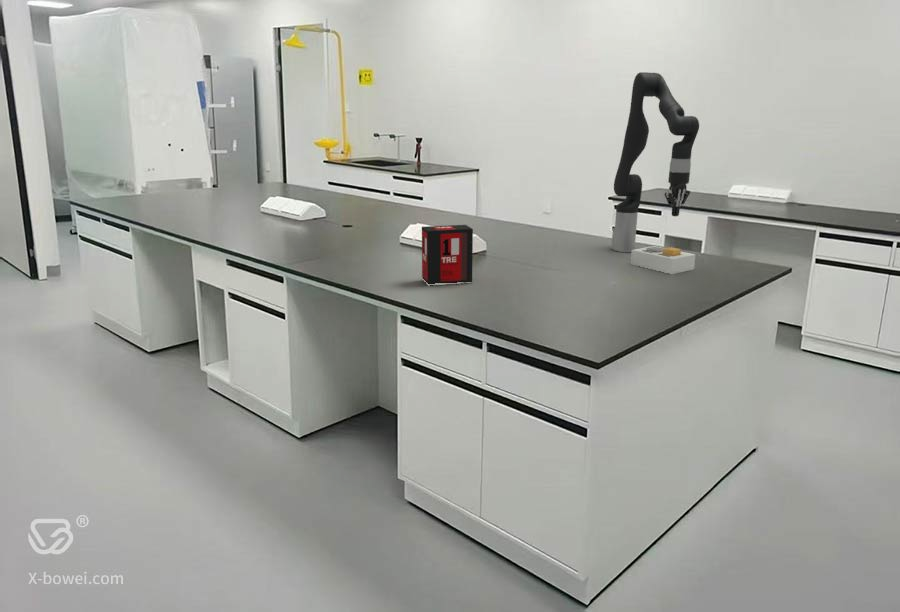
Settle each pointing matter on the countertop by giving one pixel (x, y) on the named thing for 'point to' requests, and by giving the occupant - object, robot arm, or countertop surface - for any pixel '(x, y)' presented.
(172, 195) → the countertop surface
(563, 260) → the countertop surface
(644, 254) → the panel
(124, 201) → the countertop surface
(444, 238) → the cleaning product box
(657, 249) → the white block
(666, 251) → the tan cardboard-coloured cube
